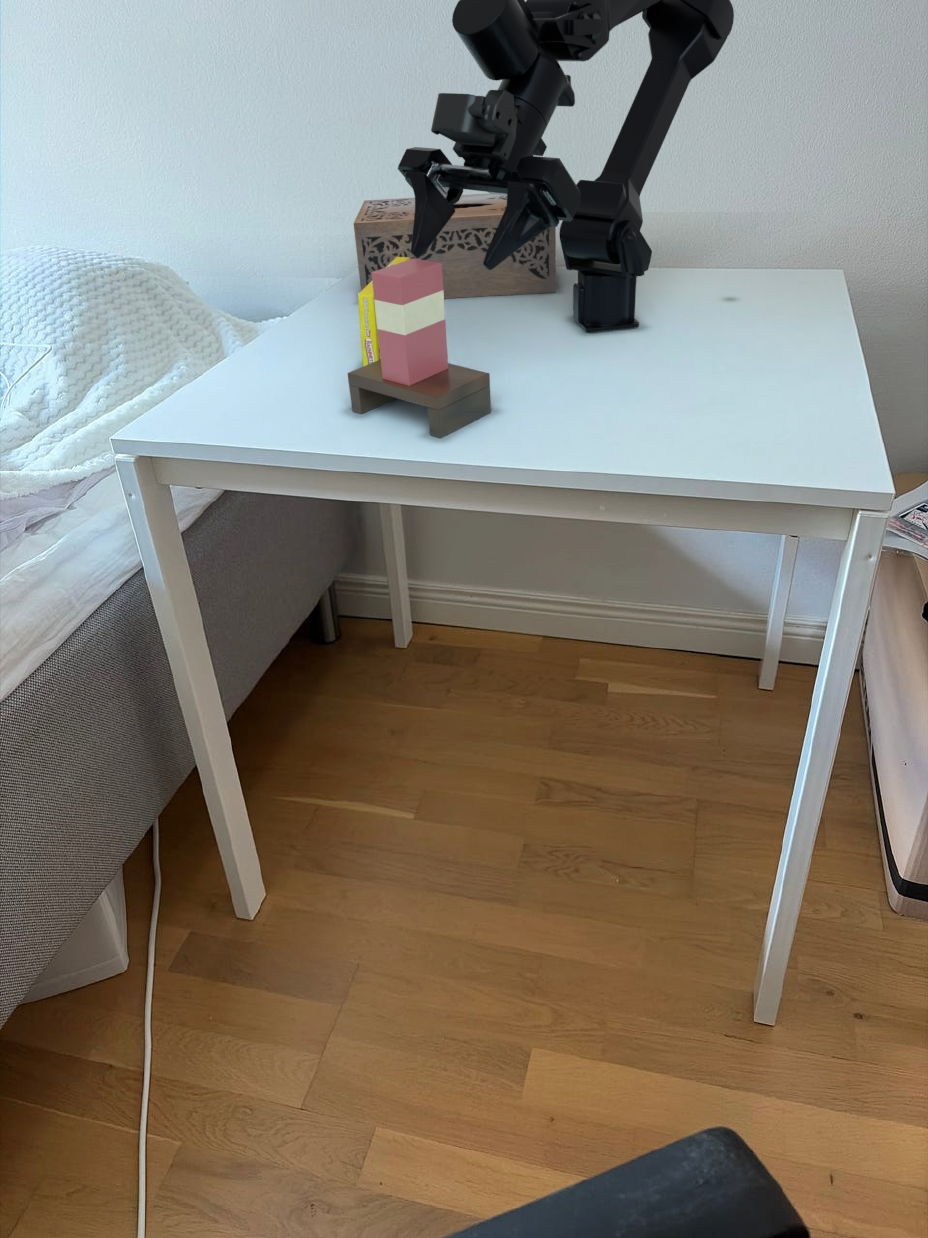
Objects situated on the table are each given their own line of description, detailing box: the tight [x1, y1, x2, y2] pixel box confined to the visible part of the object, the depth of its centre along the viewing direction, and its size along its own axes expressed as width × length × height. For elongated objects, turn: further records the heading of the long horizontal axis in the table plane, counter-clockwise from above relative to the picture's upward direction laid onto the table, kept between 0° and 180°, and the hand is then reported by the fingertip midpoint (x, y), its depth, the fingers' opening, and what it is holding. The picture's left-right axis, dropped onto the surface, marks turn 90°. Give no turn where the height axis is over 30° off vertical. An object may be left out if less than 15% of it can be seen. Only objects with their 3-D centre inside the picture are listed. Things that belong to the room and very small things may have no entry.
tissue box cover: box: [353, 193, 557, 299], centre depth 131 cm, size 26×14×10 cm, turn 89°
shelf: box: [347, 359, 492, 439], centre depth 94 cm, size 8×12×4 cm, turn 49°
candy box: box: [357, 257, 410, 367], centre depth 110 cm, size 16×2×8 cm, turn 168°
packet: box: [372, 258, 449, 386], centre depth 90 cm, size 6×4×10 cm, turn 139°
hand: (449, 261), depth 91 cm, fingers open, 9 cm apart
